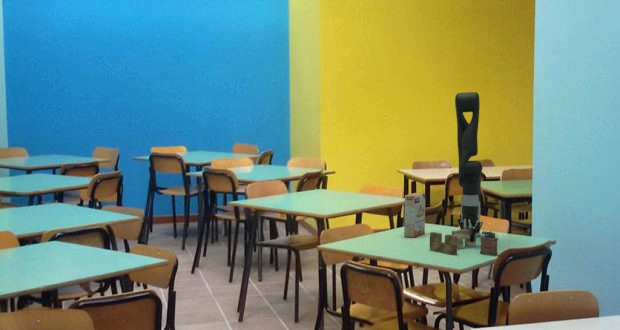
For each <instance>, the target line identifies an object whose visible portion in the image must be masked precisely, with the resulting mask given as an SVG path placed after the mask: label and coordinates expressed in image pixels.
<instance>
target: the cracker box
mask: <svg viewBox="0 0 620 330" xmlns="http://www.w3.org/2000/svg"><path fill="white" fill-rule="evenodd" d="M403 221H404V224H403V225H404V228H403V229H404V231H403V233H404V234H403V236H404V238H412V239H414V238H415V239H416V238H417V237H420V236H423V235H425V232H426V231H425V230H426V229H425V228H426V193H424V192H413V193H409V194H405V195H404V220H403Z"/></svg>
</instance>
